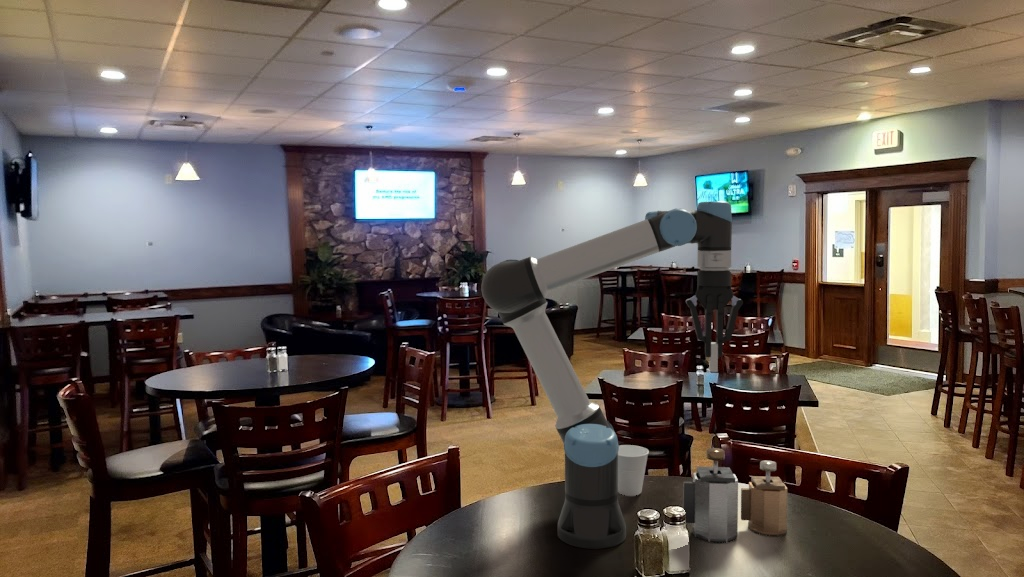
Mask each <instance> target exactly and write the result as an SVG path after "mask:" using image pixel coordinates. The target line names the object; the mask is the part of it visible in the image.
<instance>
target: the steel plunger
mask: <svg viewBox="0 0 1024 577" xmlns="http://www.w3.org/2000/svg"><path fill="white" fill-rule="evenodd" d="M725 455H726V454H725V450H724V449H722V448H718V447H711V448H707V449H706V459H707V460H709V461H710V460H711V461H712V467H713V474H718V467H719V461H720V462H721V461H724V460H725V458H726V457H725ZM713 483H718V482H713Z"/></svg>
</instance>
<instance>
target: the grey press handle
mask: <svg viewBox="0 0 1024 577" xmlns="http://www.w3.org/2000/svg"><path fill="white" fill-rule="evenodd" d="M759 469H760V470H761V471H764V472H765V477H766V482H767V483H770V477H771V472H772V473H773V472H775V471H776V472H777V462H776V461H772V460H761V461H760V462H759ZM767 491H770V490H767Z"/></svg>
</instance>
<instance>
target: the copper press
mask: <svg viewBox="0 0 1024 577" xmlns="http://www.w3.org/2000/svg"><path fill="white" fill-rule="evenodd" d="M750 477H751V481H749V482H748V488H743V487H742V488H740V520H741V521H748V523H747V528H748V530H749V531H751V533H754V534H756V535H759V536H763V537H774V538H775V537H781V536H785V535H786V534H787V533H788V487H787V486H786V484H785V483H783V481H782V479H781V478H780V477H779V476H770V483H767V482H766V476H757V475H756V476H755V475H751V476H750ZM767 490H770V491H767Z"/></svg>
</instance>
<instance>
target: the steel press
mask: <svg viewBox="0 0 1024 577" xmlns="http://www.w3.org/2000/svg"><path fill="white" fill-rule="evenodd" d="M692 478H693V480H692V481H683V484H682V485H683V486H682V488H683V489H682V490H683V492H682V493H683V496H682V500H683V502H682V504H683V505H682V506H683V508H682V509H684V510H685V512H686V523H685V524H692V536H694V537H695V538H696V539H698V540H700V541H703V542H706V543H710V544H728V543H729V544H730V543H732V542H735V541H736V540H738V536H739V535H738V534H739V533H738V532H739V531H738V526H739V525H738V524H739V522H738V520H739V516H738V515H739V513H738V510H739V509H738V507H739V504H738V503H739V480H738V478H737V476H736V474H735V473H733V471H732V469H731V468H730V467H725V466H718V474H713V466H696V471H695V472H693V476H692ZM713 482H718V483H713Z"/></svg>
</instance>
